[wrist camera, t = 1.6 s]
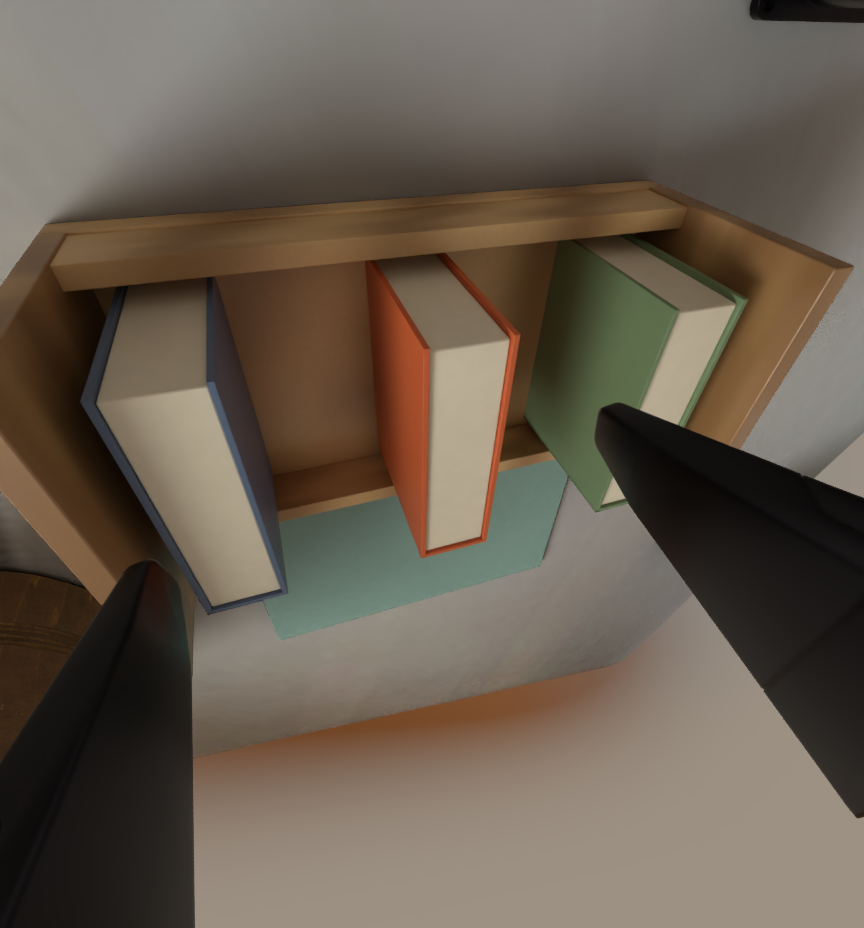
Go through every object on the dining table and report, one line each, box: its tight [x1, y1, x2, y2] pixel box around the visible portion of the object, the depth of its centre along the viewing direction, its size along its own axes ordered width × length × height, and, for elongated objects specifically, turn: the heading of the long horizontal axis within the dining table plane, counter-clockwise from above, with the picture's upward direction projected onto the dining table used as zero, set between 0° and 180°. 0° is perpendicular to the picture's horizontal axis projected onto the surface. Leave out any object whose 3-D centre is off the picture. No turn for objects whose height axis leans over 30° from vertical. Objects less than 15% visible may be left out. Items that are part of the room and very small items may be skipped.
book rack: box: [0, 180, 854, 675], centre depth 20 cm, size 24×13×10 cm, turn 89°
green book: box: [524, 233, 748, 512], centre depth 22 cm, size 3×10×8 cm, turn 179°
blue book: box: [80, 276, 288, 615], centre depth 18 cm, size 3×10×8 cm, turn 179°
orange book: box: [365, 253, 520, 558], centre depth 20 cm, size 3×10×8 cm, turn 179°
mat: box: [263, 459, 568, 640], centre depth 34 cm, size 22×14×1 cm, turn 89°
